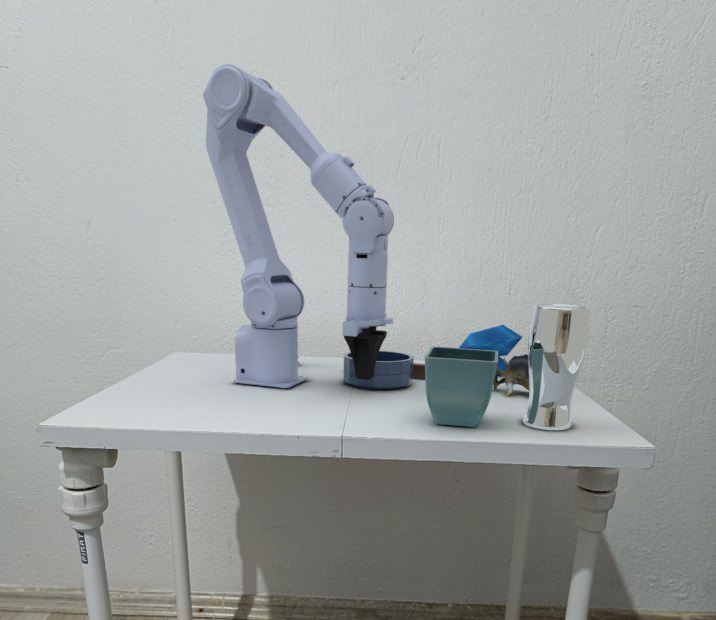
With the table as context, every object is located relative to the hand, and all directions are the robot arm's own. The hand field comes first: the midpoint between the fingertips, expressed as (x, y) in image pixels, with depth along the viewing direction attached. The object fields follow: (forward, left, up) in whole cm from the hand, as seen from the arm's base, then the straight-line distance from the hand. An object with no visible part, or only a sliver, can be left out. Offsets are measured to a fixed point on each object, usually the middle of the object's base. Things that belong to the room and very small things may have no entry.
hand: (364, 378), depth 101 cm
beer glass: (+28, -8, -2) cm, 29 cm away
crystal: (+15, +24, -2) cm, 28 cm away
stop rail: (0, +15, -2) cm, 15 cm away
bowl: (0, +7, -2) cm, 7 cm away
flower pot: (+17, -12, -2) cm, 21 cm away
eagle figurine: (+22, +9, -2) cm, 24 cm away
